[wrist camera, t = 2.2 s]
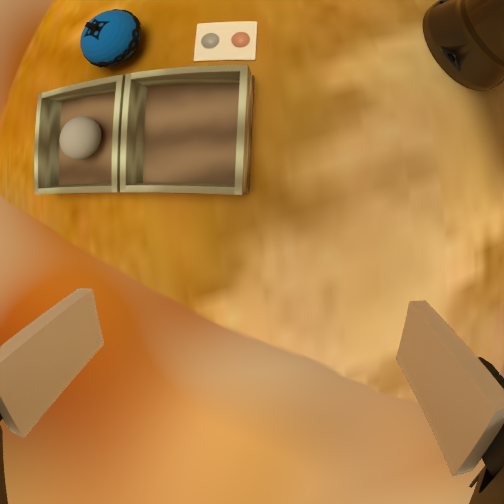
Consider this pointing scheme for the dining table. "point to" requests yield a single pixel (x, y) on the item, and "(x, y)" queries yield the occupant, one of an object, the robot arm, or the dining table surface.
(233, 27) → the card
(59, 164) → the two-compartment wooden tray
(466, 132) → the dining table surface
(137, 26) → the ornament
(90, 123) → the ball
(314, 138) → the dining table surface
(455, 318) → the dining table surface
